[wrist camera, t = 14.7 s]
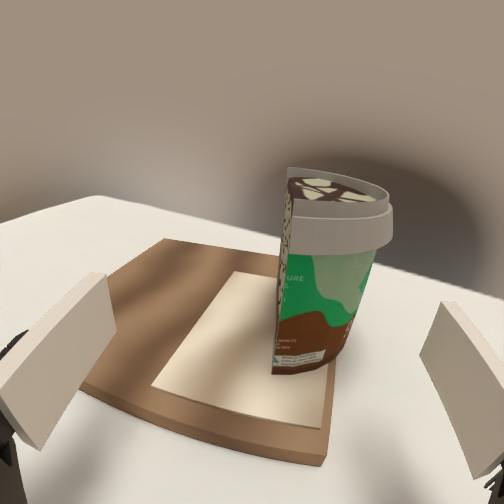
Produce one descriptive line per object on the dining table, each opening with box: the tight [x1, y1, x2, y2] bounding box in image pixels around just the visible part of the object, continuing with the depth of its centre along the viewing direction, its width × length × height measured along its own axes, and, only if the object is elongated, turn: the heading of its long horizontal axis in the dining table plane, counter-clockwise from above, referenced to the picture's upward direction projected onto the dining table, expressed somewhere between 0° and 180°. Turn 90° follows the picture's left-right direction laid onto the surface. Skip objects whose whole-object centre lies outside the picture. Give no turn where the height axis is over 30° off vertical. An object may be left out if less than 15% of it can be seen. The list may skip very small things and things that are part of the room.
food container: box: [271, 167, 393, 375], centre depth 18 cm, size 12×6×10 cm, turn 174°
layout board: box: [79, 238, 336, 466], centre depth 23 cm, size 20×22×1 cm
